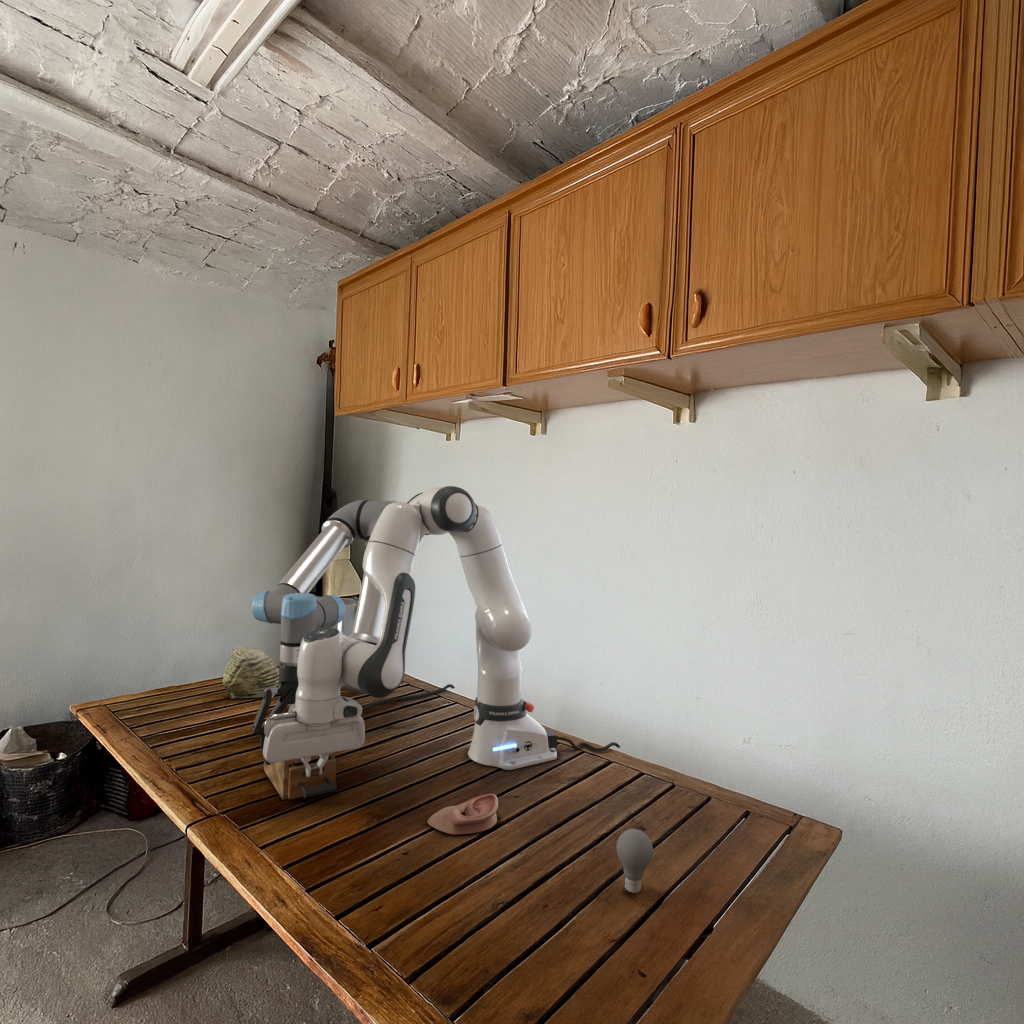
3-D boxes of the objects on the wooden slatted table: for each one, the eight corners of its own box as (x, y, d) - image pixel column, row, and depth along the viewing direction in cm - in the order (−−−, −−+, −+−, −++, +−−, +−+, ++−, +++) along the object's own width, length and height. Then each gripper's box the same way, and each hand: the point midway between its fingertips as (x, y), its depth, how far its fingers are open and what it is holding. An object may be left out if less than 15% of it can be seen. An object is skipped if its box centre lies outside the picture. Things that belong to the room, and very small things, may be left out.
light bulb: (610, 879, 108) (613, 822, 108) (644, 879, 109) (647, 822, 109) (619, 902, 102) (622, 840, 102) (655, 901, 103) (658, 840, 103)
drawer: (343, 799, 131) (345, 770, 131) (296, 811, 125) (297, 780, 125) (313, 763, 148) (314, 736, 148) (270, 771, 142) (271, 744, 142)
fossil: (218, 695, 195) (220, 647, 195) (278, 685, 208) (279, 640, 207) (228, 703, 189) (230, 653, 188) (289, 692, 201) (290, 645, 201)
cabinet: (333, 788, 138) (335, 751, 138) (282, 800, 132) (284, 761, 132) (310, 760, 151) (312, 726, 151) (263, 770, 145) (265, 734, 145)
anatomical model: (422, 809, 122) (441, 784, 133) (421, 830, 122) (440, 802, 133) (489, 819, 119) (502, 792, 130) (488, 840, 119) (502, 811, 130)
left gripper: (246, 672, 135) (242, 774, 135) (352, 660, 148) (348, 753, 148) (239, 663, 141) (235, 761, 141) (341, 653, 154) (337, 742, 154)
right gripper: (268, 720, 122) (264, 791, 122) (369, 706, 133) (365, 772, 134) (261, 710, 127) (257, 778, 127) (359, 698, 139) (355, 760, 139)
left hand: (293, 757), depth 145 cm, fingers closed on cabinet, 11 cm apart
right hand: (313, 775), depth 131 cm, fingers closed
